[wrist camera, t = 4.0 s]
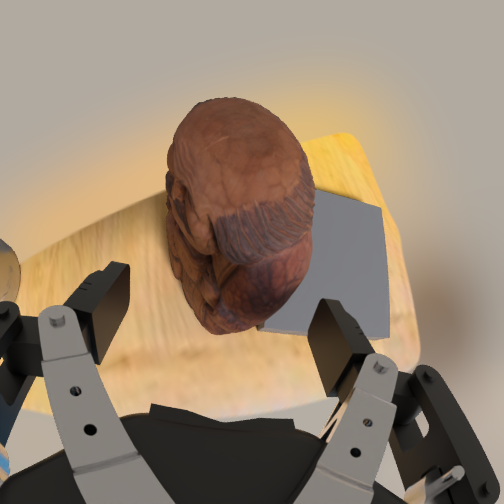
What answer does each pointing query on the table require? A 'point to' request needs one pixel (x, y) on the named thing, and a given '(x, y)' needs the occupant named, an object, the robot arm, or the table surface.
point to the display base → (341, 269)
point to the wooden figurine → (238, 213)
